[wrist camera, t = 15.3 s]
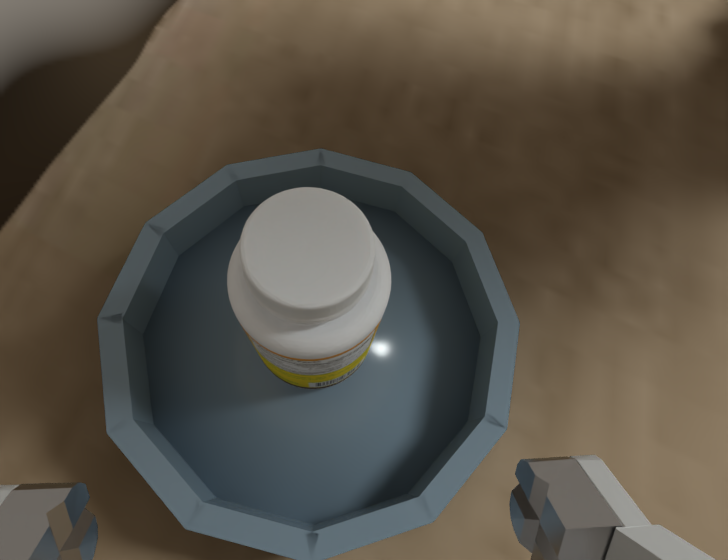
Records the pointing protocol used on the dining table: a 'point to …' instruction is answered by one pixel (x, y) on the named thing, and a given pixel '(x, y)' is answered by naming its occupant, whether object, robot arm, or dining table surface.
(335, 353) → the supplement bottle
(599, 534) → the robot arm
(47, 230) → the dining table surface
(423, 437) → the slate dish
